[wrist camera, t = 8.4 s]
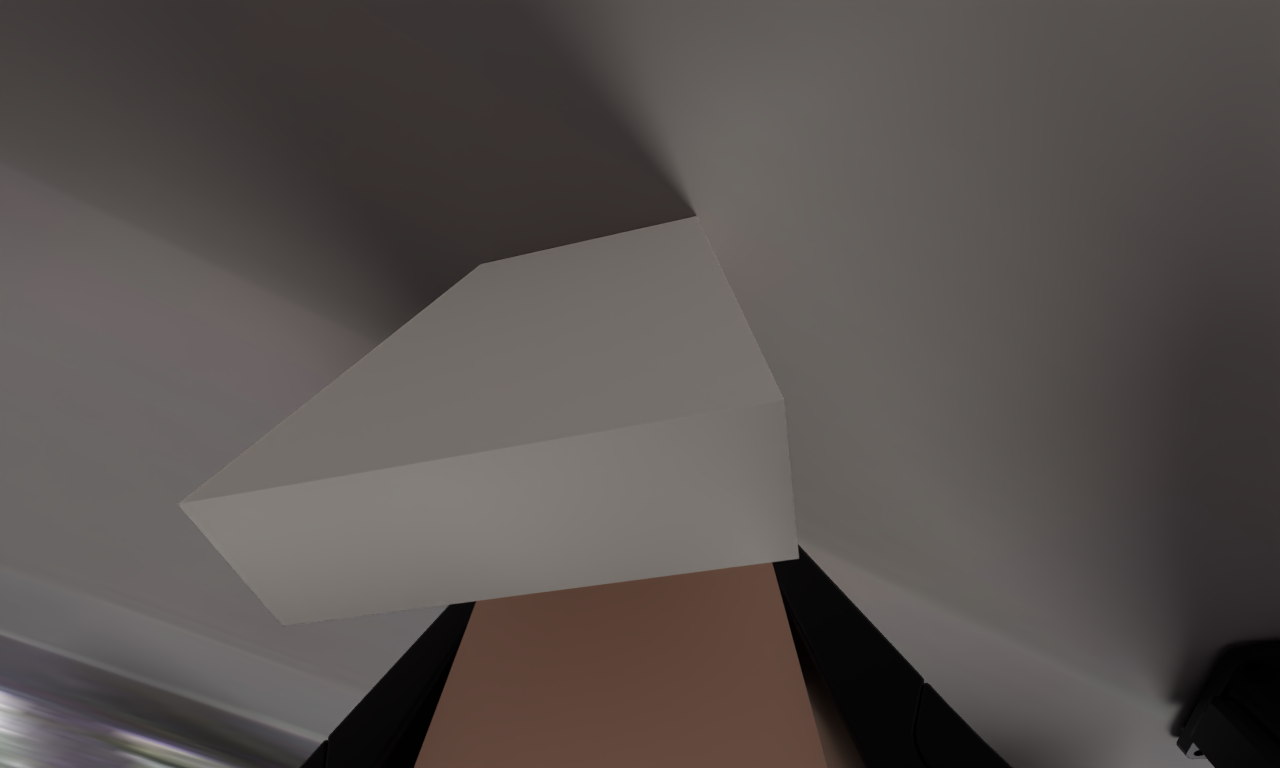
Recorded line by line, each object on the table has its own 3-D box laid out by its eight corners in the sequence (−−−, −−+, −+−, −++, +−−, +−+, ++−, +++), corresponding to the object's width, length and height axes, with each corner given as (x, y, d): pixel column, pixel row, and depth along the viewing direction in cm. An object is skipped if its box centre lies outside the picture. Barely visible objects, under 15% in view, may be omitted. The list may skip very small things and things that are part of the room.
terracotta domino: (749, 501, 11) (912, 1148, 4) (542, 531, 12) (375, 1138, 5) (740, 446, 10) (921, 1114, 3) (521, 481, 11) (286, 1107, 4)
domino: (480, 264, 11) (177, 503, 4) (696, 216, 10) (784, 400, 3) (504, 327, 12) (283, 625, 5) (707, 286, 11) (798, 558, 4)
